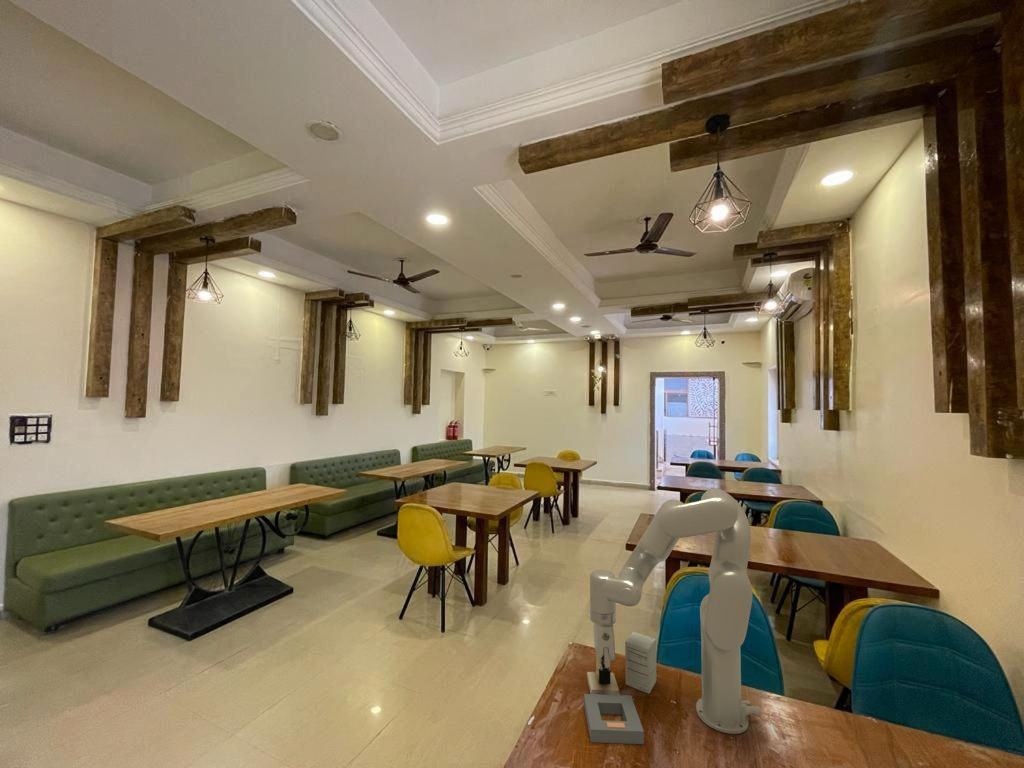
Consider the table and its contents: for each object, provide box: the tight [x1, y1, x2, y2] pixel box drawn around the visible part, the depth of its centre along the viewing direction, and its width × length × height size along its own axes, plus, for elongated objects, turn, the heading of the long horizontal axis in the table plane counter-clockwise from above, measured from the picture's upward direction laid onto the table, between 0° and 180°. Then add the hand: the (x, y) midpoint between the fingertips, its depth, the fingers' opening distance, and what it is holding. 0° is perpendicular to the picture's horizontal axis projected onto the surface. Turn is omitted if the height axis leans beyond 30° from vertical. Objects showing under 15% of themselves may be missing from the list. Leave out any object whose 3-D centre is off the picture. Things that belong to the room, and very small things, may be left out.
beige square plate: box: [586, 671, 620, 695], centre depth 124 cm, size 8×8×2 cm
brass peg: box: [595, 652, 609, 685], centre depth 124 cm, size 4×4×8 cm
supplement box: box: [624, 631, 657, 694], centre depth 127 cm, size 7×7×13 cm
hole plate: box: [583, 693, 645, 745], centre depth 110 cm, size 13×13×3 cm
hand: (603, 677), depth 124 cm, fingers closed on brass peg, 4 cm apart
